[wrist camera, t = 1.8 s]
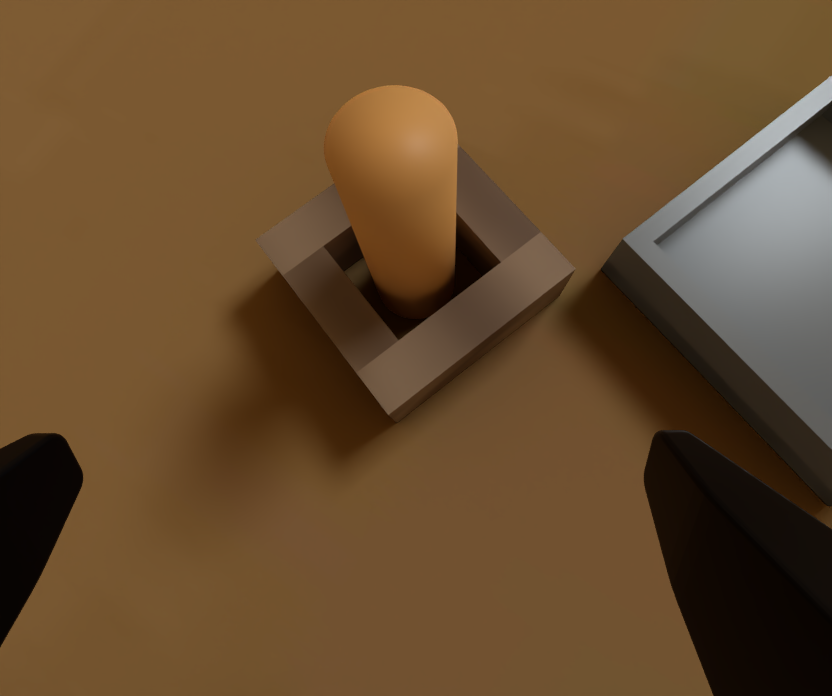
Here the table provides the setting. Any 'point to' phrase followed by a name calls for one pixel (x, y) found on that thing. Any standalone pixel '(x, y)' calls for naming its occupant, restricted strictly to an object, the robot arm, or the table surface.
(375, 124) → the pin
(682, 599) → the robot arm
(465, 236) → the socket block
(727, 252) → the tray
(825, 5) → the table surface
